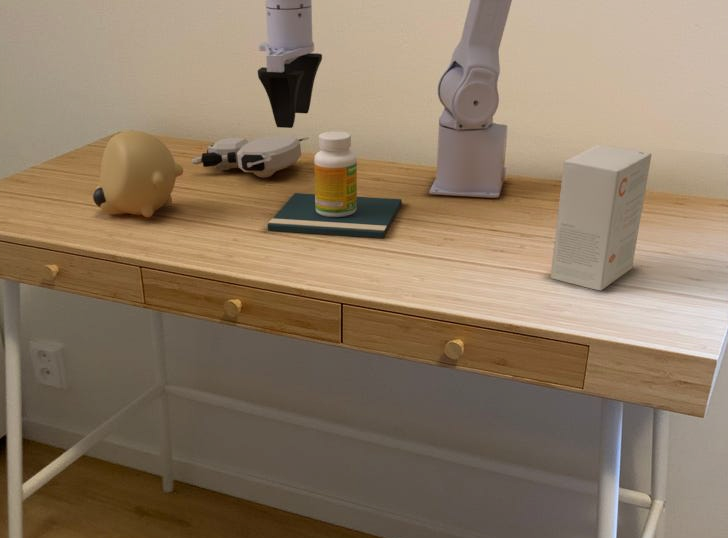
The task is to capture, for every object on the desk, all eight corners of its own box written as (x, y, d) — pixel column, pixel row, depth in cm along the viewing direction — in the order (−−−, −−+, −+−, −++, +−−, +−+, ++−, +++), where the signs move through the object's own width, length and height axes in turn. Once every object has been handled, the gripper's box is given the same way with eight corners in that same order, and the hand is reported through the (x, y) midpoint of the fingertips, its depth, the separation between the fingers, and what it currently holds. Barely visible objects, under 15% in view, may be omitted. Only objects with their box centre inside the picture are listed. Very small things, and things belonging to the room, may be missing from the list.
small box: (581, 256, 108) (598, 142, 101) (633, 269, 105) (654, 151, 97) (547, 278, 103) (562, 159, 96) (600, 292, 99) (620, 170, 92)
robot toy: (189, 181, 138) (277, 185, 132) (184, 150, 136) (273, 153, 129) (230, 160, 147) (314, 162, 141) (226, 130, 145) (312, 132, 138)
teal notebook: (401, 204, 125) (402, 198, 124) (383, 238, 114) (383, 231, 114) (294, 198, 128) (294, 192, 127) (267, 230, 118) (267, 223, 117)
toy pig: (159, 226, 130) (105, 170, 129) (205, 167, 123) (148, 107, 122) (120, 248, 123) (63, 188, 121) (166, 187, 115) (105, 122, 114)
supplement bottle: (352, 219, 118) (352, 141, 113) (311, 217, 119) (309, 140, 114) (359, 205, 122) (359, 129, 117) (320, 203, 123) (318, 128, 118)
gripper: (274, -3, 122) (279, 105, 129) (239, 14, 110) (247, 132, 118) (326, -2, 120) (328, 107, 128) (296, 15, 108) (300, 134, 116)
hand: (292, 119), depth 123 cm, fingers open, 7 cm apart
